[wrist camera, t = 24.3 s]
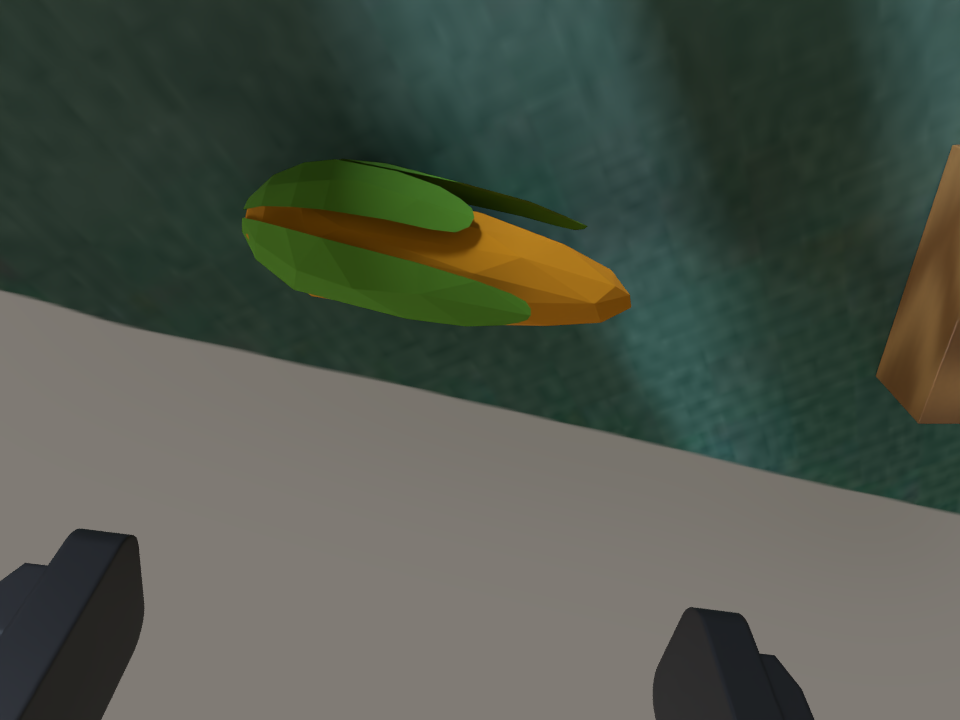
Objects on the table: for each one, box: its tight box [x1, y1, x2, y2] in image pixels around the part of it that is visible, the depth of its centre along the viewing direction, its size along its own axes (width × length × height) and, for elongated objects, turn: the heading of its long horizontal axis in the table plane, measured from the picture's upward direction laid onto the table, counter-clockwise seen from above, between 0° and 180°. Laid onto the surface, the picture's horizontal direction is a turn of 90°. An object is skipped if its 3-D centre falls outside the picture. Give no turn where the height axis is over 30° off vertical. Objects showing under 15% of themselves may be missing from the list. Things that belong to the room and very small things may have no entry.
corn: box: [242, 159, 631, 326], centre depth 36 cm, size 7×8×20 cm
